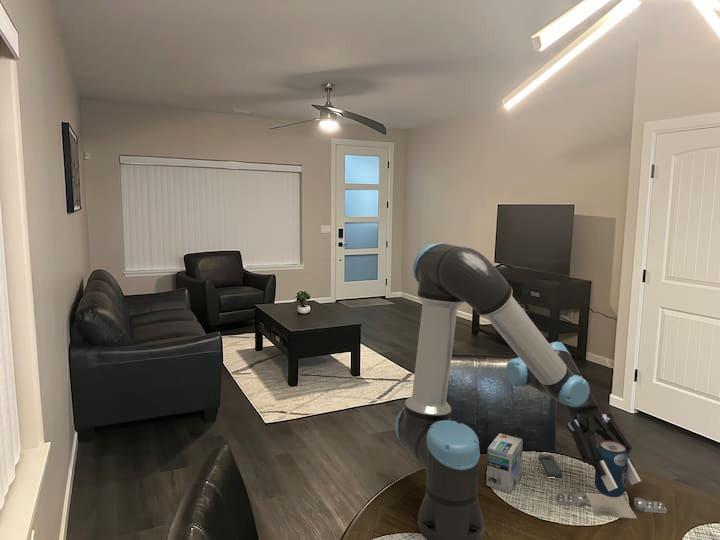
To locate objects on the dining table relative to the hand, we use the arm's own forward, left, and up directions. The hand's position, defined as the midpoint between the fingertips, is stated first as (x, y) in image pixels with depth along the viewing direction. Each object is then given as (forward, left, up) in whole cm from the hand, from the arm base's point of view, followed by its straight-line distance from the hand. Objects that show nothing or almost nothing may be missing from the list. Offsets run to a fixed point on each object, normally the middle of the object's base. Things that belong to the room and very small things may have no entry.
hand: (624, 486), depth 122 cm
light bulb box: (-26, +11, -7) cm, 30 cm away
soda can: (-2, +4, -4) cm, 6 cm away
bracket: (-13, +19, -8) cm, 24 cm away
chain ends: (-2, +3, -7) cm, 8 cm away
